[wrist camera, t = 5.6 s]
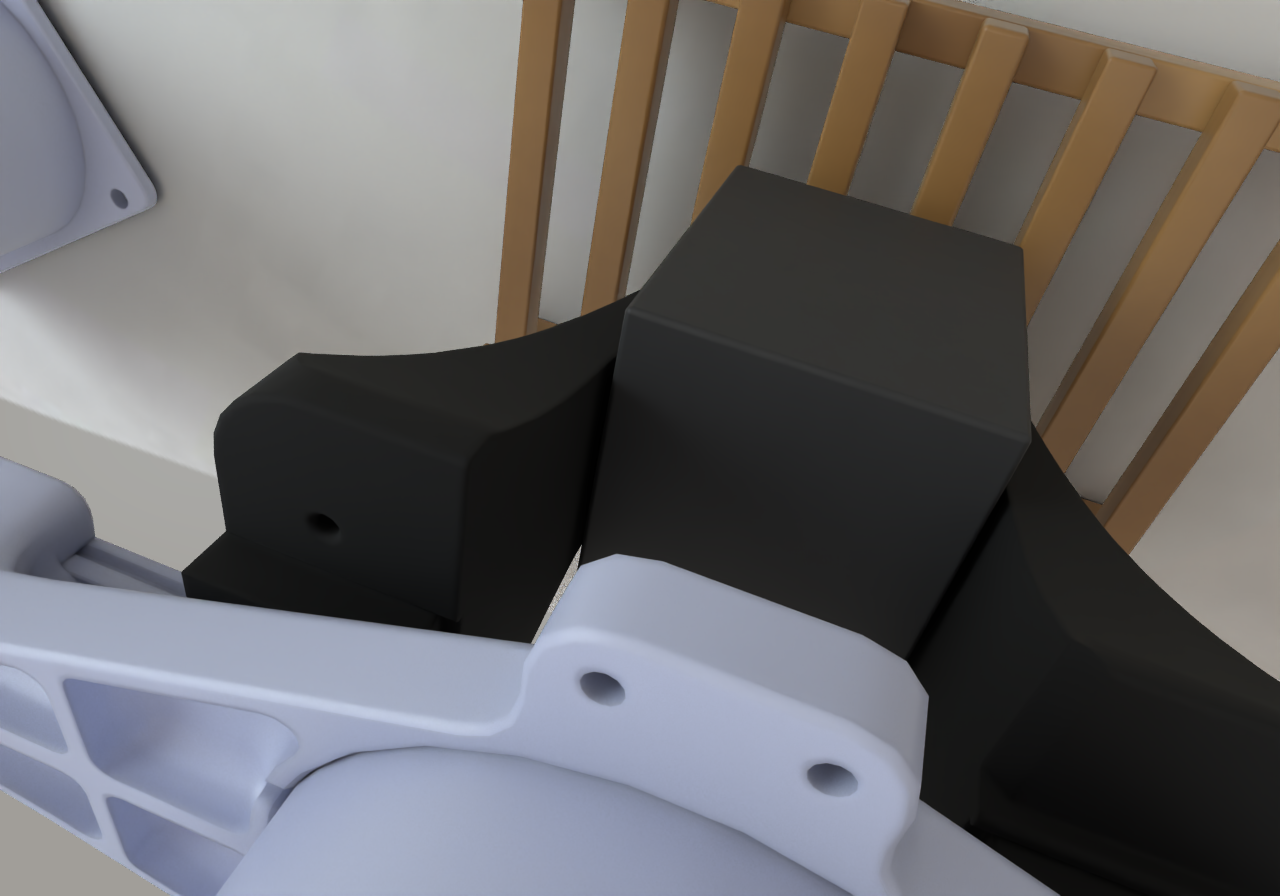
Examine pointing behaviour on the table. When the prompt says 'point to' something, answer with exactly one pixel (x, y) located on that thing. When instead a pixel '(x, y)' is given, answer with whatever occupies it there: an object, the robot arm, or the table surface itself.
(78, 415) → the table surface
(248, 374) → the table surface
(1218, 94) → the dish rack
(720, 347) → the black box
